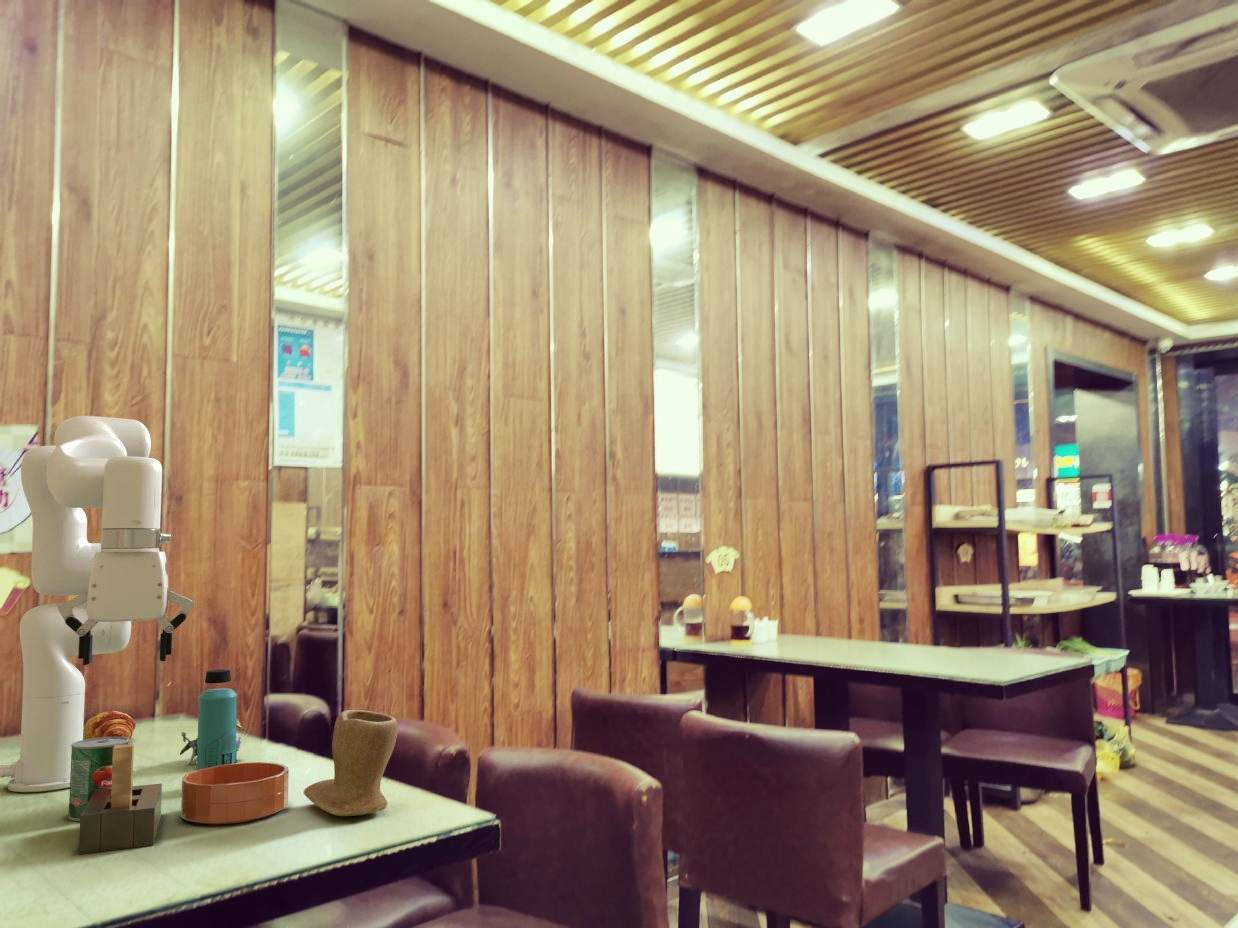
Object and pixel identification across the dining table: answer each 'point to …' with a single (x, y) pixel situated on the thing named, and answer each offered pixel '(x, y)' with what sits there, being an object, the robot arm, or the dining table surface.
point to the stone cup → (357, 764)
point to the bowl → (234, 792)
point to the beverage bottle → (216, 723)
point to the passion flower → (194, 744)
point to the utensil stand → (120, 820)
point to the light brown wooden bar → (122, 776)
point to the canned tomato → (90, 770)
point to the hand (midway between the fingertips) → (125, 661)
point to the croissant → (109, 725)
